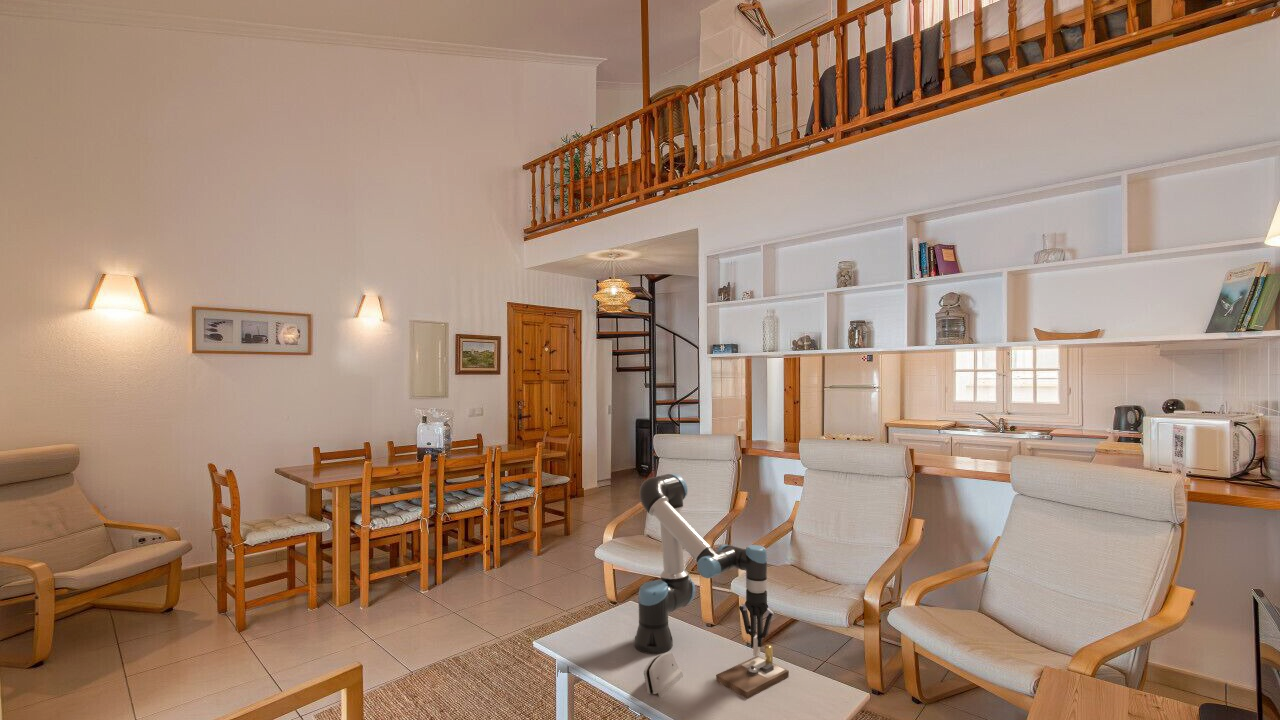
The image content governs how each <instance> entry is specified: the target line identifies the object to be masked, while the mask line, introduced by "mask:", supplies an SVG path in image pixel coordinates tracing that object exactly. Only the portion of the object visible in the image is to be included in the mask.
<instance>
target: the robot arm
mask: <svg viewBox="0 0 1280 720" xmlns="http://www.w3.org/2000/svg"><path fill="white" fill-rule="evenodd" d="M638 494H639V495H638V496H639V497H638V498H639V500H640V503H641V505H642V506H643V508H644V510H645V511H646V512H647V514H649V516H651V517H655V518H656V519H657V520H658V521H659V523H660V525H659V526H660V536H661V547H662V548H661V549H662V551H661V552H662V565H663V571H662V572H661V573H660V579H654V580H649V581H646V582H644V583H643V584H642V585H641V586H640V587H639V588H638V589H639V590H638V596H637V597H638V626H637V631H636V634H635V635H634V636H635V637H634V638H633V639H634V640H633V641H634V643H633V644H634V648H635V649H636V650H638V651H639V652H642V653H645V654H654V655H655V654H656V655H659V654H663V653H667V652H668V651H670V650H671V649H672V648H673V646H674V642H673V641H674V640H673V636H672V632H671V629H670V626H669V614H670V613H673V612H675V611H677V610H680V609H681V608H686V606H687V605H689V604H690V603H692V602H693V600H694V598H695V596H696V585H695V582H694V581H693V579H692V577H690V576H689V572H688V571H687V570H686V569H685V559H684V549H685V551H686V552H688V554H689V555H690V556H691V557H692V558H693V559H694V560H695V561H696V562H697V563H696V568H697V571H698V573H699V576H701V577H702V578H704V579H711V578H715V577H718V576H719V575H721V574H723V573H726V572H728V571H730V570H733V569H736V570H741V571H745V588H746V590H745V602H744V603H742V604H741V605H740V606H739V608H738V609H739V611H740V612H741V616H742V620H743V624H744V625H743V626H744V631H745V634H747V635H749V636H750V645H751V646H752V647H753V656H754V657H758V656H759V655H760V652H761V647H762V645H763V639H765V638H766V637H767V636H768V633H769V629H770V624H771V621H772V618H773V616H774V614H775V611H774V610H771V609H770V608H769V604H768V591H767V589H768V575H767V574H768V557H767V556H768V553H767V548H765V547H764V546H763V545H761V544H760V545H759V544H758V545H756V544H750V545H748V546H746V548H742V547H738V546H734V545H731V544H725V543H724V544H721V545H720V546H719V548H717V551H716V550H715V549H713V547H712V546H711V545H710V544H709V543H708V542H707V541H706V540H705V539H704V538H703V537H702V536H701V535H700V534H699V533H698V532H697V531H696V530H695V528H693V526H692V525H691V524H689V522H688V521H687V520H686V519H685V518H684V517H683V516H682V514H681V511H682V509H683V508H684V499H686V497H687V495H688V485H687V482H686V481H685V479H684V478H683V477H682V476H681V475H679V474H676V473H666V474H661V475H658V476H651V477H648V478H647V479H645V480H644V481H643V482H642V483H641V485H640V487H639V493H638ZM748 613H749V614H748ZM765 613H766V618H765V621H764V620H763V618H764V614H765ZM749 618H750V619H749ZM763 621H764V622H765V623H764V624H763ZM763 626H764V627H763Z"/></svg>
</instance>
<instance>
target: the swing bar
mask: <svg viewBox="0 0 1280 720" xmlns="http://www.w3.org/2000/svg"><path fill="white" fill-rule="evenodd" d="M773 648H774V647H773V645H771V644H766V645H765V646H764V659H765V661H764V662H762V663H759V664H757V665H755V666H749V667H748V673H750V674H757V672H758V671H760V670H762V667H763V666H765V665H767V664H771V665H773V659H774V658H773V657H774V656H773V654H774V653H773Z"/></svg>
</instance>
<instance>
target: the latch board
mask: <svg viewBox="0 0 1280 720" xmlns="http://www.w3.org/2000/svg"><path fill="white" fill-rule="evenodd" d="M764 661H765V658H763V657H761V656H759V655H758V657H756V656H754V657H751V658H749V659H747V660H745V661H743V662H741V663H739V664H737V665H733V667H732V666H731V667H730V668H727V669H726V670H724V671H722V672H719V673H717V674H716V675H715V682H716V681H717V683H719V684H721V685H723V686H725V687H727V688H728V689H730V690H732V691H733V692H735V693H737V694H739V695H741V696H742V697H744V698H746V699H748V698H750V697H753V696H754V695H756V694H758V693H760V692H762V691H764V690H766V689H767V688H769V687H772V686H773V685H775V684H777V683H779V682H781V681H782V680H785V679H787V678H789V670H788V669H786V668H784V667H782V666H781V665H777V664H776V663H773V665H771V664H767V665H765V666H763V667H762V670H760V671H758V672H757V674H750V673H748V667H749V666H755V665H757V664H759V663H762V662H764Z"/></svg>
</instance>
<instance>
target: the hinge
mask: <svg viewBox="0 0 1280 720" xmlns="http://www.w3.org/2000/svg"><path fill="white" fill-rule="evenodd" d="M645 666H646V667H645V668H644V670H643V676H644V681H645V682H644V683H645V687H646V692H647V694H648V695H651V694H652V693H653V694H654V695H656V694H658V697H659V698H662V697H663V696H665V695H666V694H667V692H669V690H671V689H672V687H674V686H675V685H676V684H677V683H678V682H679V681H680V680H681V679H682V678H683V677H684V675H683V671H682V670H681V669H680V668H679V666H678V663H677V661H676V657H675V655H674V653H672V652H663V653H659V654H656V656H654V657H653V658H652V659H650V661H648V663H647V665H645Z"/></svg>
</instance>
